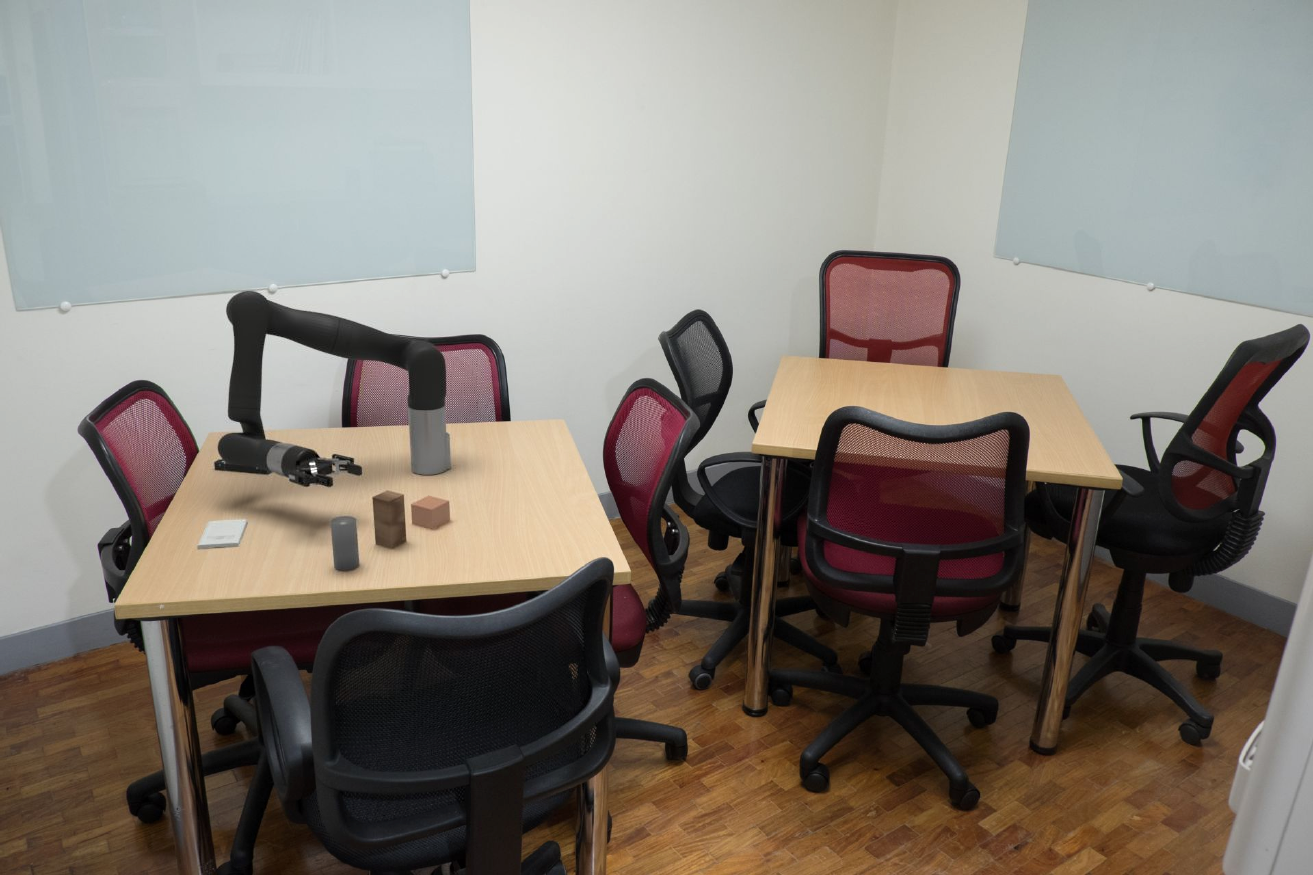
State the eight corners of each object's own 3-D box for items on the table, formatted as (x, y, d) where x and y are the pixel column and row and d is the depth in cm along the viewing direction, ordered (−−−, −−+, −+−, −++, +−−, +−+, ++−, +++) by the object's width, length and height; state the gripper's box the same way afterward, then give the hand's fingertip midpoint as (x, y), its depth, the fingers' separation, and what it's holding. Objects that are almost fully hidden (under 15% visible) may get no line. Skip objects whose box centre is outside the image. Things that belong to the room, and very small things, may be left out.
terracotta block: (429, 515, 232) (428, 495, 230) (450, 521, 229) (449, 500, 228) (412, 524, 227) (410, 504, 225) (432, 530, 224) (431, 509, 223)
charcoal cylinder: (353, 558, 210) (350, 514, 206) (363, 566, 206) (360, 522, 203) (330, 564, 207) (326, 519, 203) (339, 573, 203) (336, 527, 200)
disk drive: (214, 472, 255) (269, 476, 253) (212, 462, 254) (267, 466, 252) (236, 459, 265) (289, 462, 263) (234, 448, 264) (287, 452, 262)
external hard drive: (248, 525, 225) (239, 548, 214) (208, 527, 223) (197, 551, 212) (247, 518, 225) (238, 542, 213) (207, 521, 223) (196, 544, 211)
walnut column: (390, 536, 220) (387, 490, 217) (406, 541, 218) (403, 494, 215) (375, 544, 216) (372, 497, 213) (391, 549, 214) (388, 501, 211)
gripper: (266, 454, 218) (320, 469, 211) (316, 437, 230) (369, 451, 223) (268, 486, 220) (322, 502, 213) (318, 468, 232) (371, 483, 225)
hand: (346, 476), depth 218 cm, fingers open, 8 cm apart
